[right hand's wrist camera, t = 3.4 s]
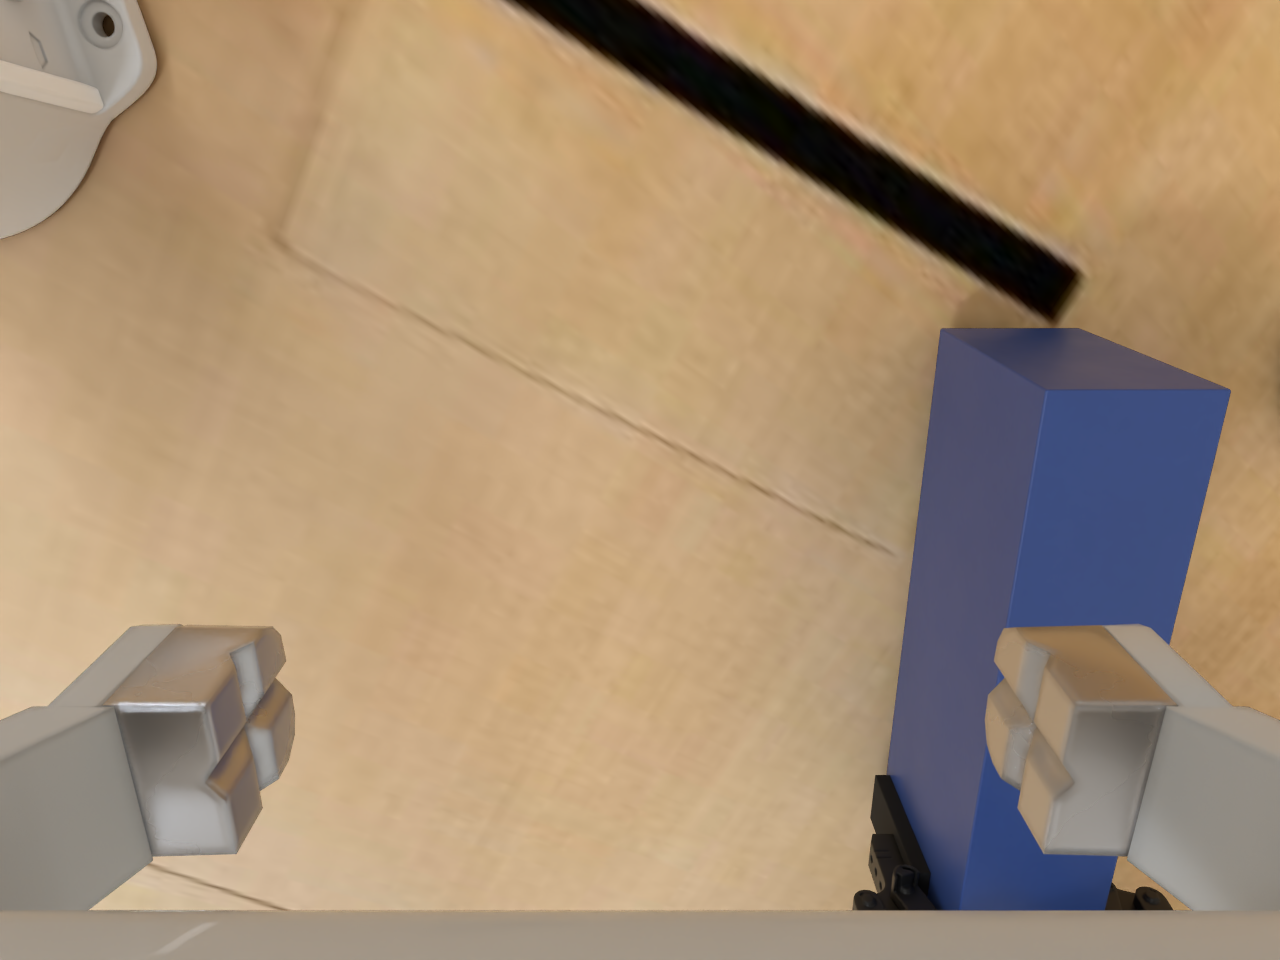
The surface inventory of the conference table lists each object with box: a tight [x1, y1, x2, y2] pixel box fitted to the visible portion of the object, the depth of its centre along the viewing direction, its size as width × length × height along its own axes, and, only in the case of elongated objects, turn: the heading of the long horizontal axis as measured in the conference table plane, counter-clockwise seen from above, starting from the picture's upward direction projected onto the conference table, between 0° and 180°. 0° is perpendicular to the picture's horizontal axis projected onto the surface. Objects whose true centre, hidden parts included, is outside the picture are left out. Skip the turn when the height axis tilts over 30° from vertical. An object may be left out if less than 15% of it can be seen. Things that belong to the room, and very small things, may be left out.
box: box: [887, 328, 1231, 911], centre depth 38 cm, size 27×6×10 cm, turn 0°
